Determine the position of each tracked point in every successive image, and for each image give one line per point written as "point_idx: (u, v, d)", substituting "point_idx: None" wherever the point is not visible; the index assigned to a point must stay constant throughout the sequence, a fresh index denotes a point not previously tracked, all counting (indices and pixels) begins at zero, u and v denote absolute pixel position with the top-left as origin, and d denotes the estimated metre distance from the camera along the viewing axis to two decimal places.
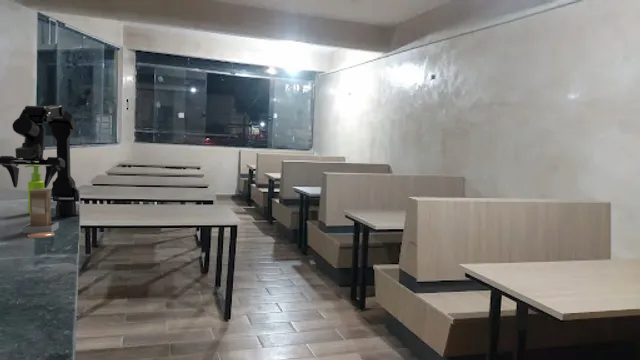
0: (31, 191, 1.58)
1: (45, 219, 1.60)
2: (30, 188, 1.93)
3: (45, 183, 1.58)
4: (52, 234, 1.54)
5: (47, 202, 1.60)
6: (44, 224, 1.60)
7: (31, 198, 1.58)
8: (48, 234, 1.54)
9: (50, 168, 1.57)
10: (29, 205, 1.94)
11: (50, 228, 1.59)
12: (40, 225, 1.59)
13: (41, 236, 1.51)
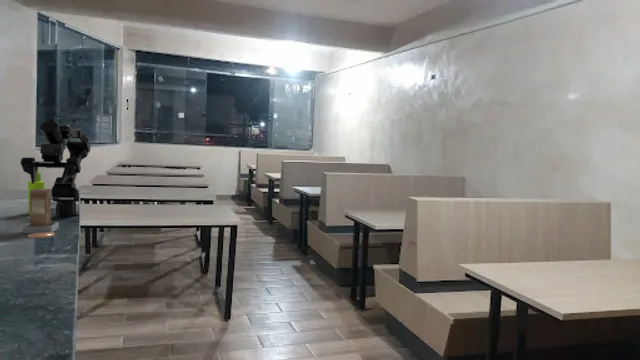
0: (31, 191, 1.58)
1: (45, 219, 1.60)
2: (30, 188, 1.93)
3: (62, 179, 1.70)
4: (52, 234, 1.54)
5: (47, 202, 1.60)
6: (44, 224, 1.60)
7: (31, 198, 1.58)
8: (48, 234, 1.54)
9: (68, 166, 1.72)
10: (29, 205, 1.94)
11: (50, 228, 1.59)
12: (40, 225, 1.59)
13: (41, 236, 1.51)
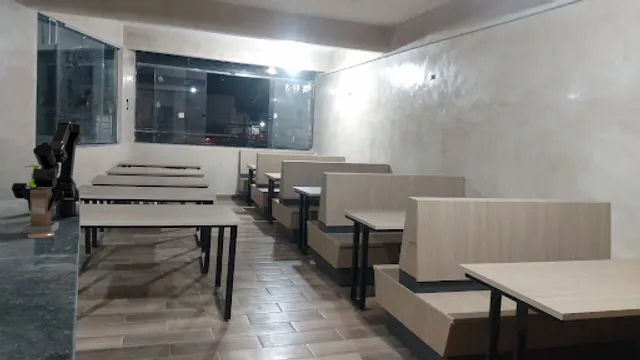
0: (31, 191, 1.58)
1: (45, 219, 1.60)
2: None
3: (49, 205, 1.61)
4: (52, 234, 1.54)
5: (47, 202, 1.60)
6: (44, 224, 1.60)
7: (31, 198, 1.58)
8: (48, 234, 1.54)
9: (57, 191, 1.63)
10: None
11: (50, 228, 1.59)
12: (40, 225, 1.59)
13: (41, 236, 1.51)
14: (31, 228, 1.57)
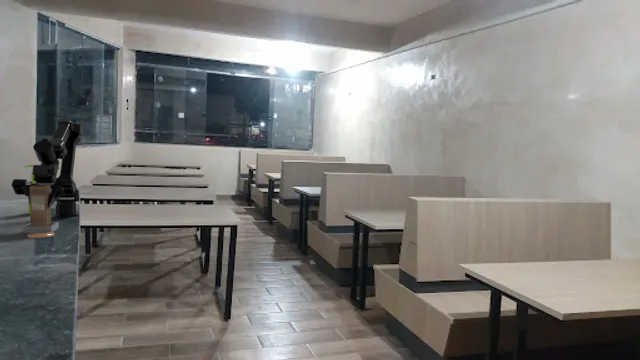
0: (31, 187, 1.58)
1: (45, 215, 1.60)
2: None
3: (49, 201, 1.61)
4: (52, 234, 1.54)
5: (47, 198, 1.60)
6: (44, 220, 1.60)
7: (31, 194, 1.58)
8: (48, 234, 1.54)
9: (56, 187, 1.63)
10: (29, 205, 1.94)
11: (50, 228, 1.59)
12: (40, 221, 1.59)
13: (41, 236, 1.51)
14: (31, 228, 1.57)
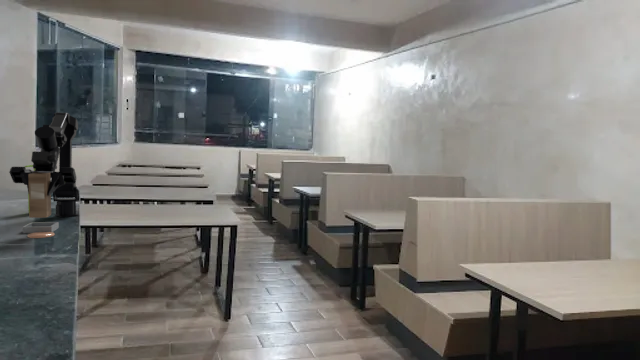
0: (30, 175, 1.50)
1: (45, 204, 1.52)
2: None
3: (49, 190, 1.53)
4: (52, 234, 1.54)
5: (47, 186, 1.52)
6: (44, 210, 1.52)
7: (30, 182, 1.50)
8: (48, 234, 1.54)
9: (56, 175, 1.55)
10: None
11: (50, 228, 1.59)
12: (39, 211, 1.51)
13: (41, 236, 1.51)
14: (31, 228, 1.57)
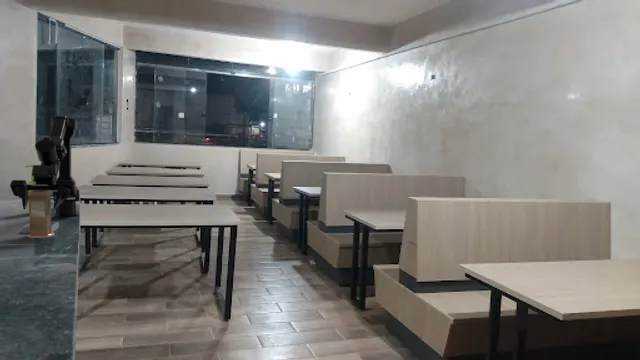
0: (30, 193, 1.50)
1: (45, 222, 1.52)
2: None
3: (55, 203, 1.54)
4: (52, 234, 1.54)
5: (47, 204, 1.53)
6: (44, 227, 1.52)
7: (30, 200, 1.50)
8: None
9: (62, 189, 1.56)
10: None
11: None
12: (40, 229, 1.52)
13: (41, 236, 1.51)
14: None
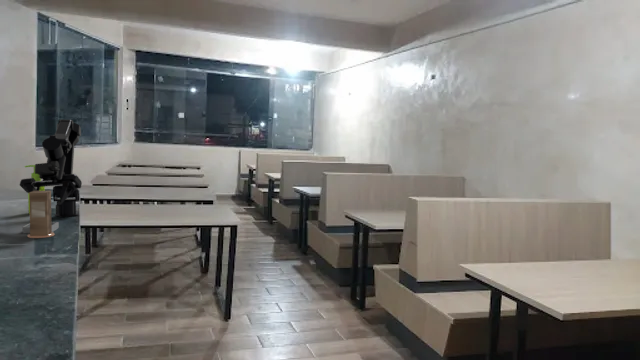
0: (31, 193, 1.50)
1: (45, 222, 1.52)
2: None
3: (61, 198, 1.63)
4: (52, 234, 1.54)
5: (47, 204, 1.53)
6: (44, 228, 1.52)
7: (31, 200, 1.50)
8: None
9: (66, 183, 1.64)
10: (29, 205, 1.94)
11: None
12: (40, 229, 1.52)
13: (41, 236, 1.51)
14: None
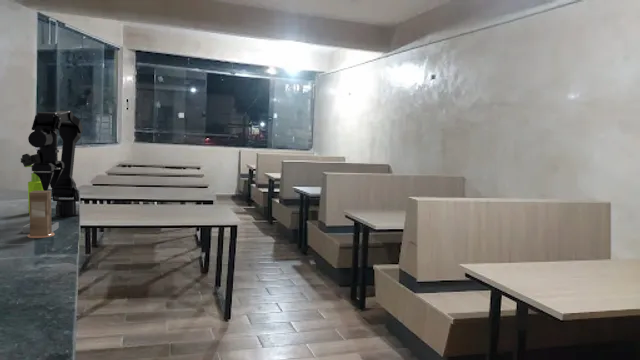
0: (31, 193, 1.50)
1: (45, 222, 1.52)
2: (30, 188, 1.93)
3: None
4: (52, 234, 1.54)
5: (47, 204, 1.53)
6: (44, 228, 1.52)
7: (31, 200, 1.50)
8: None
9: None
10: (29, 205, 1.94)
11: None
12: (40, 229, 1.52)
13: (41, 236, 1.51)
14: None
